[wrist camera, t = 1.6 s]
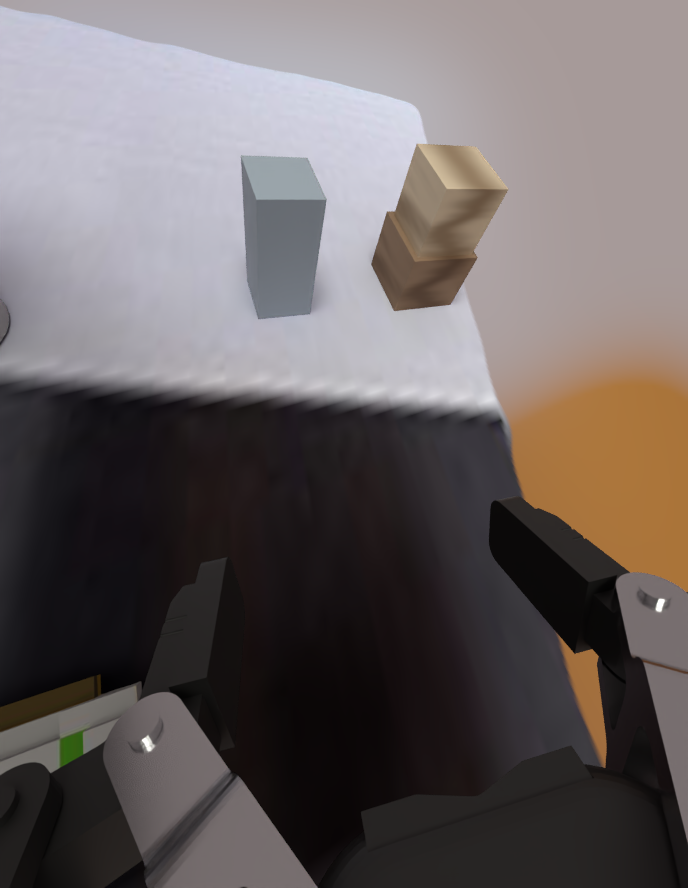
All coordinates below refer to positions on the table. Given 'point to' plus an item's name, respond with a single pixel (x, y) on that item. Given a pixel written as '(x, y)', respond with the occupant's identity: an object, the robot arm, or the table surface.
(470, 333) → the table surface
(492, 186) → the beech block
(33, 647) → the table surface
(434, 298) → the walnut block
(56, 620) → the table surface
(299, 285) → the slate block
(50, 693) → the toy
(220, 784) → the robot arm
